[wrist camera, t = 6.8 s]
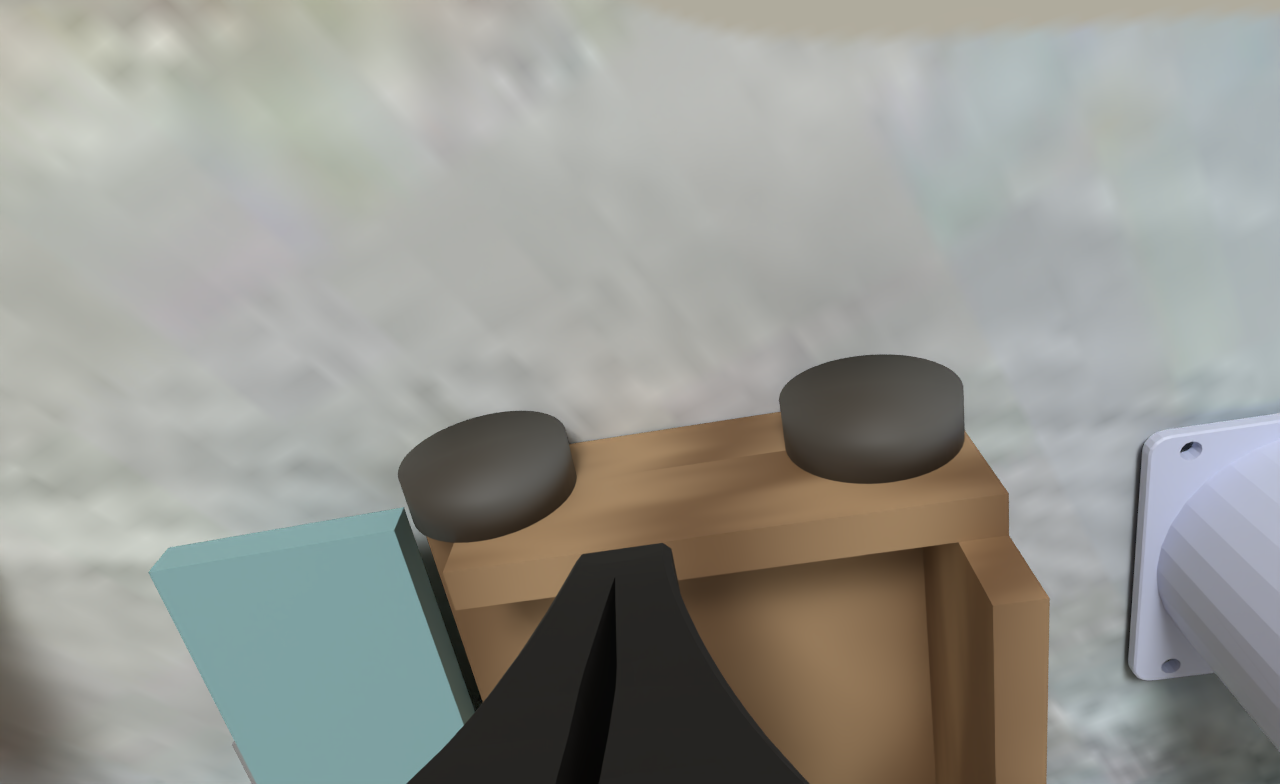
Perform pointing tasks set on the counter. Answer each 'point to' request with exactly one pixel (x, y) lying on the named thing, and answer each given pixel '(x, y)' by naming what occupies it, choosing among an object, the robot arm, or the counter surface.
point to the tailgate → (320, 648)
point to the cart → (779, 564)
